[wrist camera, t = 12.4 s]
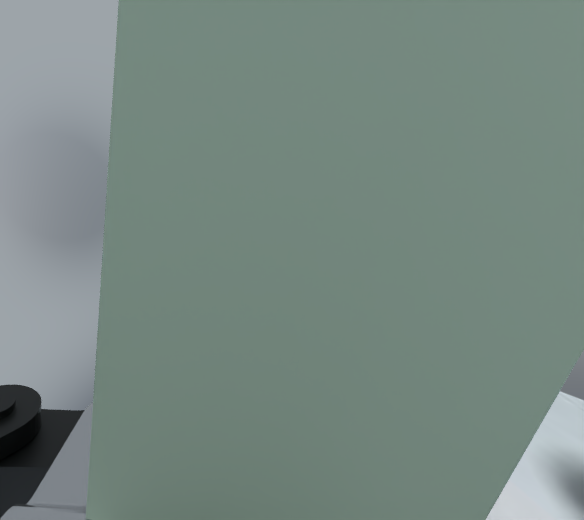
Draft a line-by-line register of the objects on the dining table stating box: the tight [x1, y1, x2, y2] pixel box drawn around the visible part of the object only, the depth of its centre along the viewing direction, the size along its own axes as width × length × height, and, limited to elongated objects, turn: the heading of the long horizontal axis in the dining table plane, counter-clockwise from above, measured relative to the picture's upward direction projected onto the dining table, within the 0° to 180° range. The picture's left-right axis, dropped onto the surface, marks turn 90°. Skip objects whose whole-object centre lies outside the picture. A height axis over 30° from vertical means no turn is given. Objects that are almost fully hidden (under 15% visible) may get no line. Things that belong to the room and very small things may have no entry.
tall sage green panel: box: [86, 0, 584, 520], centre depth 8 cm, size 7×4×18 cm, turn 171°
